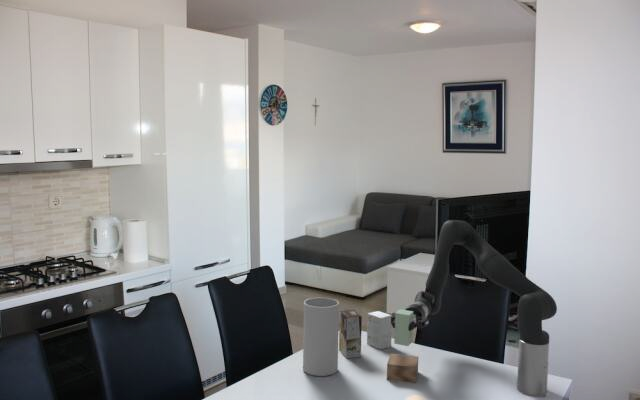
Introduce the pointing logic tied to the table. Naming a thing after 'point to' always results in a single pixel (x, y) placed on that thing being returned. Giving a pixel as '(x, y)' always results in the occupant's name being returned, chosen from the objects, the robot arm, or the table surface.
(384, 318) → the small box
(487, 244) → the robot arm
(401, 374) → the walnut block
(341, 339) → the coffee box
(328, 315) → the cylinder vase
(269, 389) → the table surface
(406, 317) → the sage block
